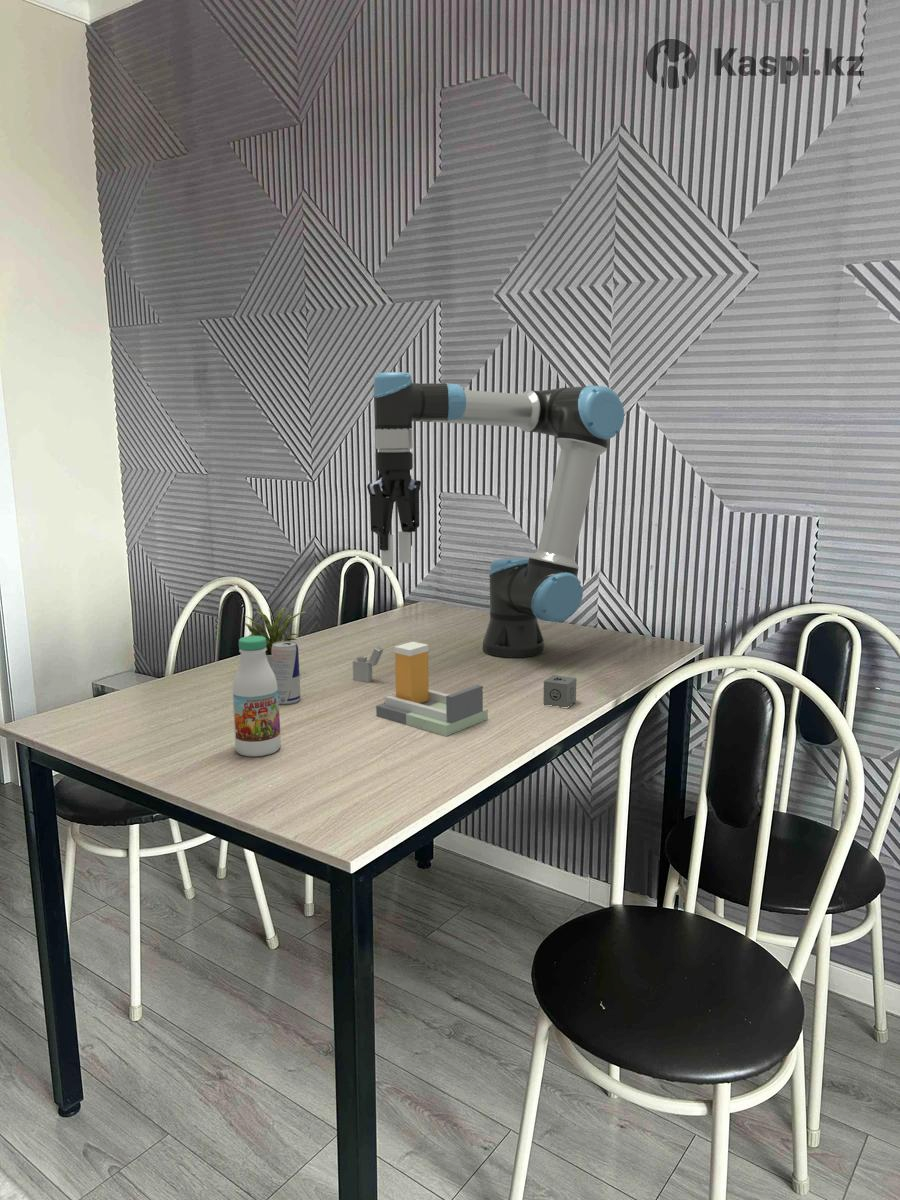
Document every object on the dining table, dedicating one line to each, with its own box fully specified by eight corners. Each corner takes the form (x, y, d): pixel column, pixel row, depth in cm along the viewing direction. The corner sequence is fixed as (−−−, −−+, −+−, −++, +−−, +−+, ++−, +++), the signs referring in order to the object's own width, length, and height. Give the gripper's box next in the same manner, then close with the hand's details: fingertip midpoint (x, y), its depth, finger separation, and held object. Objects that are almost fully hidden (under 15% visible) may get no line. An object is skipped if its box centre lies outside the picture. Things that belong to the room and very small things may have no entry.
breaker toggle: (395, 702, 173) (394, 646, 171) (413, 696, 177) (412, 641, 174) (411, 706, 170) (410, 650, 168) (429, 700, 174) (428, 644, 172)
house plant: (304, 665, 208) (301, 597, 204) (317, 681, 195) (314, 608, 192) (242, 672, 203) (238, 602, 199) (252, 689, 190) (247, 614, 187)
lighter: (352, 679, 196) (351, 644, 194) (357, 677, 198) (356, 642, 196) (380, 683, 193) (379, 648, 191) (384, 681, 194) (383, 646, 193)
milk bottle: (227, 749, 155) (220, 638, 151) (265, 738, 160) (259, 630, 156) (251, 761, 149) (244, 646, 145) (289, 749, 155) (284, 637, 151)
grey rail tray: (376, 715, 172) (375, 680, 171) (418, 700, 181) (418, 667, 179) (446, 736, 160) (445, 699, 159) (487, 719, 169) (487, 684, 168)
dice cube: (552, 698, 182) (553, 674, 181) (575, 701, 179) (576, 678, 178) (543, 705, 177) (543, 681, 176) (567, 708, 175) (567, 684, 174)
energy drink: (304, 697, 184) (302, 641, 181) (293, 705, 178) (290, 647, 176) (281, 695, 185) (278, 640, 183) (269, 703, 180) (266, 646, 178)
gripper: (410, 449, 189) (412, 557, 194) (349, 451, 176) (353, 567, 181) (436, 449, 184) (437, 560, 189) (375, 452, 171) (378, 571, 176)
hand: (396, 564), depth 185 cm, fingers open, 4 cm apart
